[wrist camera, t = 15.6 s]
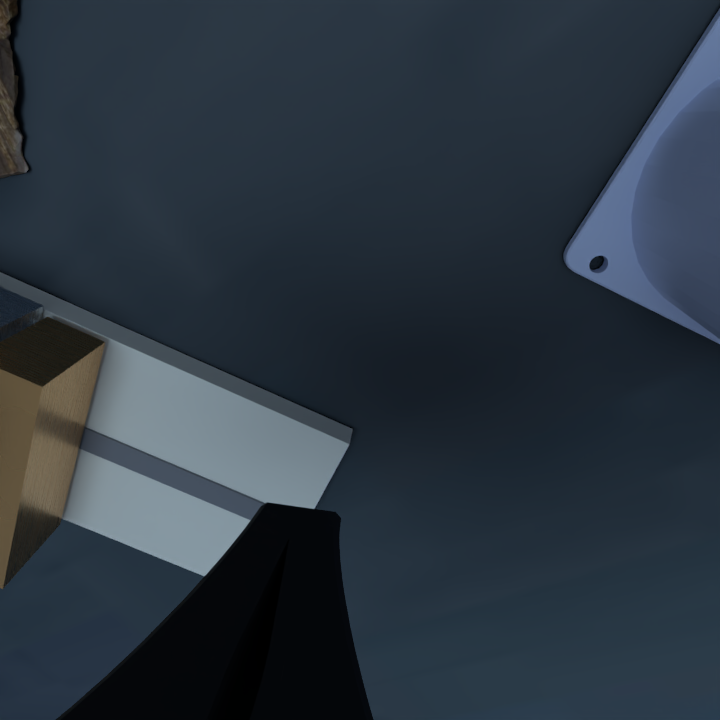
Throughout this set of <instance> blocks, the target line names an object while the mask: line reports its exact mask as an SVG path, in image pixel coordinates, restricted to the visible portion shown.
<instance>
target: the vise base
mask: <svg viewBox="0 0 720 720" xmlns="http://www.w3.org/2000/svg"><path fill="white" fill-rule="evenodd" d="M0 287H2V288H5V289H7V290H9V291H11V292H14V293H16V294H18V295H21V296H23V297H25V298H27V299H30V300H32V301H34V302H36V303H39V304H41V305H43V306H44V307H43V313H42V318H41V320H42V319H44V318H46V317H50V318H52V319H54V320H57V321H59V322H61V323H63V324H66V325H68V326H70V327H72V328H75V329H77V330H79V331H81V332H84V333H86V334H88V335H91V336H93V337H95V338H97V339H100V340H102V341H104V342H105V345H104V349H103V353H102V358H101V362H100V366H99V370H98V374H97V378H96V382H95V386H94V390H93V394H92V398H91V402H90V406H89V410H88V414H87V418H86V422H85V426H84V430H83V434H82V438H81V442H80V446H79V450H78V454H77V458H76V462H75V466H74V470H73V474H72V478H71V482H70V486H69V490H68V494H67V498H66V502H65V506H64V510H63V514H62V519H65V520H67V521H70V522H72V523H75V524H77V525H79V526H82V527H84V528H87V529H89V530H92V531H94V532H97V533H99V534H102V535H104V536H107V537H109V538H111V539H114V540H116V541H119V542H121V543H124V544H126V545H129V546H131V547H134V548H136V549H139V550H141V551H143V552H146V553H148V554H151V555H153V556H156V557H158V558H161V559H163V560H166V561H168V562H171V563H173V564H175V565H178V566H180V567H183V568H185V569H188V570H190V571H193V572H195V573H198V574H200V575H203V576H205V575H206V574H207V573H208V572H209V571H210V570H211V569H212V567H213V566H214V565H215V564H216V563H217V562H218V561H219V559H220V558H221V557H222V556H223V555H224V553H225V552H226V551H227V550H228V549H229V547H230V546H231V545H232V544H233V543H234V541H235V540H236V539H237V538H238V536H239V535H240V534H241V532H242V531H243V530H244V529H245V527H246V526H247V525H248V523H249V522H250V521H251V519H252V518H253V517H254V515H255V514H256V512H257V511H258V509H259V508H260V507H261V506H262V505H264V504H265V503H267V502H269V503H276V504H283V505H290V506H297V507H304V508H311V509H315V507H316V505H317V503H318V501H319V499H320V498H321V496H322V494H323V492H324V490H325V488H326V487H327V485H328V483H329V481H330V479H331V477H332V476H333V474H334V472H335V470H336V468H337V466H338V465H339V463H340V461H341V459H342V457H343V455H344V454H345V452H346V450H347V448H348V446H349V444H350V440H351V435H352V431H353V429H352V428H349V427H347V426H345V425H343V424H340V423H338V422H336V421H334V420H331V419H329V418H327V417H325V416H322V415H320V414H318V413H316V412H313V411H311V410H309V409H307V408H304V407H302V406H300V405H298V404H295V403H293V402H291V401H289V400H286V399H284V398H282V397H280V396H277V395H275V394H273V393H271V392H268V391H266V390H264V389H262V388H259V387H257V386H255V385H253V384H250V383H248V382H246V381H244V380H241V379H239V378H237V377H235V376H233V375H230V374H228V373H226V372H224V371H221V370H219V369H217V368H215V367H212V366H210V365H208V364H206V363H203V362H201V361H199V360H197V359H194V358H192V357H190V356H188V355H185V354H183V353H181V352H179V351H176V350H174V349H172V348H170V347H167V346H165V345H163V344H161V343H158V342H156V341H154V340H152V339H149V338H147V337H145V336H143V335H140V334H138V333H136V332H134V331H131V330H129V329H127V328H125V327H122V326H120V325H118V324H116V323H113V322H111V321H109V320H107V319H104V318H102V317H100V316H98V315H95V314H93V313H91V312H89V311H86V310H84V309H82V308H80V307H77V306H75V305H73V304H71V303H68V302H66V301H64V300H62V299H59V298H57V297H55V296H53V295H51V294H48V293H46V292H44V291H42V290H39V289H37V288H35V287H33V286H30V285H28V284H26V283H24V282H21V281H19V280H17V279H15V278H12V277H10V276H8V275H6V274H3V273H1V272H0Z"/></svg>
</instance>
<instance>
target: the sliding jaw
mask: <svg viewBox="0 0 720 720" xmlns="http://www.w3.org/2000/svg"><path fill="white" fill-rule="evenodd" d="M104 345H105V342H104V341H102V340H100V339H97V338H95V337H93V336H91V335H88V334H86V333H84V332H81V331H79V330H77V329H75V328H72V327H70V326H68V325H66V324H63V323H61V322H59V321H57V320H54V319H52V318H50V317H46V318H44V319H42V320H40V321H38V320H37V321H35V322H34V323H32V324H30V325H28V326H26V327H24V328H22V329H20V330H19V331H17V332H15V333H13V334H11V335H9V336H7V337H5V338H3V339H2V340H0V588H2V589H3V588H4V587H5V586H6V585H7V584H8V583H9V581H10V580H11V579H12V578H13V577H14V576H15V575H16V574H17V572H18V571H19V570H20V569H21V568H22V567H23V566H24V564H25V563H26V562H27V561H28V560H29V559H30V558H31V557H32V555H33V554H34V553H35V552H36V551H37V550H38V549H39V548H40V546H41V545H42V544H43V543H44V542H45V541H46V540H47V539H48V537H49V536H50V535H51V534H52V533H53V532H54V531H55V529H56V528H57V527H58V526H59V525H60V522H61V518H62V514H63V510H64V506H65V502H66V498H67V494H68V490H69V486H70V482H71V478H72V474H73V470H74V466H75V462H76V458H77V454H78V450H79V446H80V442H81V438H82V434H83V430H84V426H85V422H86V418H87V414H88V410H89V406H90V402H91V398H92V394H93V390H94V386H95V382H96V378H97V374H98V370H99V366H100V362H101V358H102V353H103V349H104Z"/></svg>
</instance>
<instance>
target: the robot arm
mask: <svg viewBox="0 0 720 720" xmlns="http://www.w3.org/2000/svg"><path fill="white" fill-rule="evenodd" d="M599 255H600V256H603V258H604V262H603V265H602V266H601V267H600V268H599V269H595V270H591V269H590V267H589V264H590V261H591V260H592V259H593V258H594V257H596V256H599ZM563 260H564V262H565V264H566V266H567V267H568V268H569V269H571V270H572V271H573V272H575V273H577V274H579V275H581V276H583V277H585V278H587V279H589V280H591V281H593V282H595V283H597V284H599V285H601V286H603V287H605V288H607V289H609V290H611V291H613V292H615V293H617V294H619V295H621V296H624V297H626V298H628V299H630V300H632V301H634V302H636V303H638V304H640V305H642V306H644V307H646V308H648V309H650V310H652V311H654V312H656V313H658V314H660V315H662V316H664V317H666V318H668V319H670V320H672V321H674V322H676V323H678V324H680V325H682V326H684V327H686V328H688V329H690V330H692V331H694V332H696V333H698V334H700V335H702V336H704V337H706V338H708V339H710V340H712V341H714V342H716V343H718V344H720V9H719V10H718V12H717V13H716V15H715V16H714V18H713V20H712V21H711V23H710V24H709V26H708V27H707V29H706V30H705V32H704V34H703V35H702V37H701V38H700V40H699V41H698V43H697V44H696V46H695V47H694V49H693V51H692V52H691V54H690V55H689V57H688V58H687V60H686V61H685V63H684V65H683V66H682V68H681V69H680V71H679V72H678V74H677V75H676V77H675V79H674V80H673V82H672V83H671V85H670V86H669V88H668V89H667V91H666V93H665V94H664V96H663V97H662V99H661V100H660V102H659V103H658V105H657V107H656V108H655V110H654V111H653V113H652V114H651V116H650V117H649V119H648V120H647V122H646V124H645V125H644V127H643V128H642V130H641V131H640V133H639V134H638V136H637V138H636V139H635V141H634V142H633V144H632V145H631V147H630V148H629V150H628V152H627V153H626V155H625V156H624V158H623V159H622V161H621V162H620V164H619V166H618V167H617V169H616V170H615V172H614V173H613V175H612V176H611V178H610V180H609V181H608V183H607V184H606V186H605V187H604V189H603V190H602V192H601V193H600V195H599V197H598V198H597V200H596V201H595V203H594V204H593V206H592V207H591V209H590V211H589V212H588V214H587V215H586V217H585V218H584V220H583V221H582V223H581V225H580V226H579V228H578V229H577V231H576V232H575V234H574V235H573V237H572V239H571V240H570V242H569V243H568V245H567V246H566V248H565V251H564V253H563ZM340 522H341V518H340V517H339V516H338V514H337V513H336V512H331V511H325V510H318V509H311V508H304V507H297V506H290V505H283V504H276V503H269V502H267V503H265V504H264V505H262V506H261V507H260V508H259V509H258V511H257V512H256V514H255V515H254V517H253V518H252V519H251V521H250V522H249V523H248V525H247V526H246V527H245V529H244V530H243V531H242V532H241V534H240V535H239V536H238V538H237V539H236V540H235V541H234V543H233V544H232V545H231V546H230V547H229V549H228V550H227V551H226V552H225V553H224V555H223V556H222V557H221V558H220V559H219V561H218V562H217V563H216V564H215V565H214V566H213V567H212V569H211V570H210V571H209V572H208V573H207V574H206V575H205V576H204V578H203V579H202V580H201V581H200V582H199V583H198V584H197V585H196V587H195V588H194V589H193V590H192V591H191V592H190V593H189V594H188V596H187V597H186V598H185V599H184V600H183V601H182V602H181V603H180V604H179V605H178V606H177V607H176V608H175V609H174V610H173V611H172V612H171V613H170V614H169V615H168V616H167V617H166V618H165V619H164V620H163V621H162V622H161V623H160V624H159V625H158V626H157V627H156V628H155V629H154V631H153V632H152V633H151V634H150V635H149V636H148V637H147V638H146V639H145V640H144V641H143V642H142V643H141V644H140V645H139V646H138V647H137V648H135V649H134V650H133V651H132V652H131V653H130V654H129V655H128V656H127V657H126V658H125V659H124V660H123V661H122V662H121V663H120V664H119V665H118V666H116V667H115V668H114V669H113V670H112V671H111V672H110V673H109V674H108V675H107V676H106V677H104V678H103V679H102V680H101V681H100V682H99V683H98V684H97V685H95V686H94V687H93V688H92V689H91V690H90V691H89V692H88V693H86V694H85V695H84V696H83V697H82V698H81V699H80V700H79V701H77V702H76V703H75V704H74V705H73V706H72V707H70V708H69V709H68V710H67V711H66V712H64V713H63V714H62V715H61V716H60V717H58V718H57V719H56V720H373V717H372V713H371V710H370V706H369V703H368V699H367V695H366V692H365V688H364V684H363V680H362V676H361V672H360V668H359V664H358V660H357V656H356V652H355V647H354V642H353V638H352V633H351V628H350V623H349V617H348V612H347V606H346V600H345V595H344V588H343V581H342V573H341V563H340V549H339V532H340Z"/></svg>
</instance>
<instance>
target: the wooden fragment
mask: <svg viewBox="0 0 720 720" xmlns="http://www.w3.org/2000/svg"><path fill="white" fill-rule="evenodd" d="M17 14H18V8H17V0H0V178H5V177H8V176H11V175H18V174H23V173H26V172H27V171H28V164H27V162H26V160H25V159H24V157H23V153H22V140H23V139H24V137H23V135H22V133H21V131H20V129H19V123H18V120H17V118H16V116H15V110H14V108H15V107H16V105H17V95H18V77H19V76H16V75H14V74H15V71H16V68H15V65H14V62H13V59H12V50H11V46H10V42H9V37H10V34H11V29H10V23H11V22H12V20H13V19H14V18H15V17H16V16H17Z"/></svg>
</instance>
